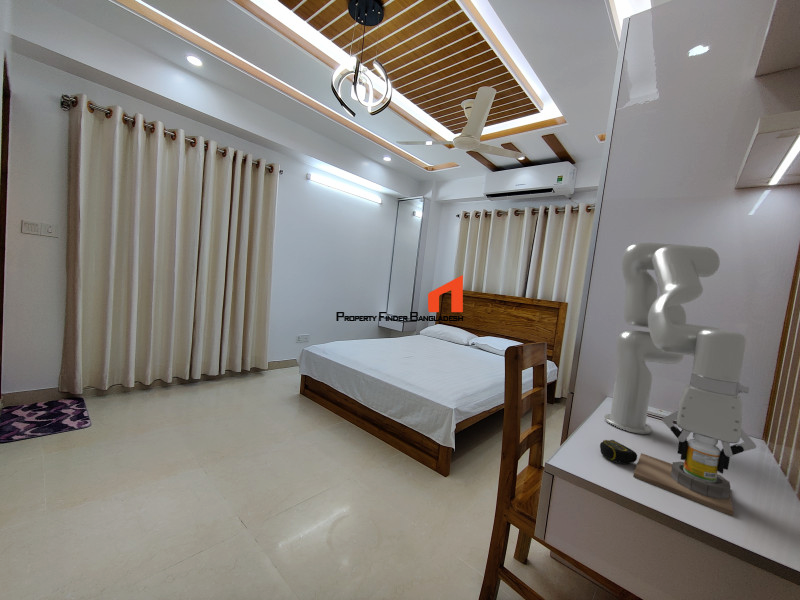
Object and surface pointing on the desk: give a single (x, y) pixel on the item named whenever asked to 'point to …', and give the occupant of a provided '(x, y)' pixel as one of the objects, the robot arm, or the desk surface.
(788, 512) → the desk surface
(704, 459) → the supplement bottle
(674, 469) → the holder
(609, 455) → the tape measure
